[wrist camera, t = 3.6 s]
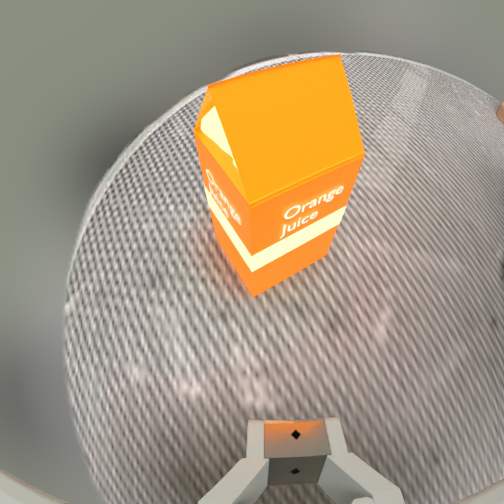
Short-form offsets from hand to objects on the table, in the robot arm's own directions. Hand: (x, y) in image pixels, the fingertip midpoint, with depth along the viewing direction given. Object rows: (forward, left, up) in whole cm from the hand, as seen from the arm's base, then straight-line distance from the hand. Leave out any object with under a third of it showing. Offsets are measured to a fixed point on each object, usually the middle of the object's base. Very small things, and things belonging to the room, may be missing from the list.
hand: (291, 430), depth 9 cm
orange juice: (-11, -12, -17) cm, 24 cm away
